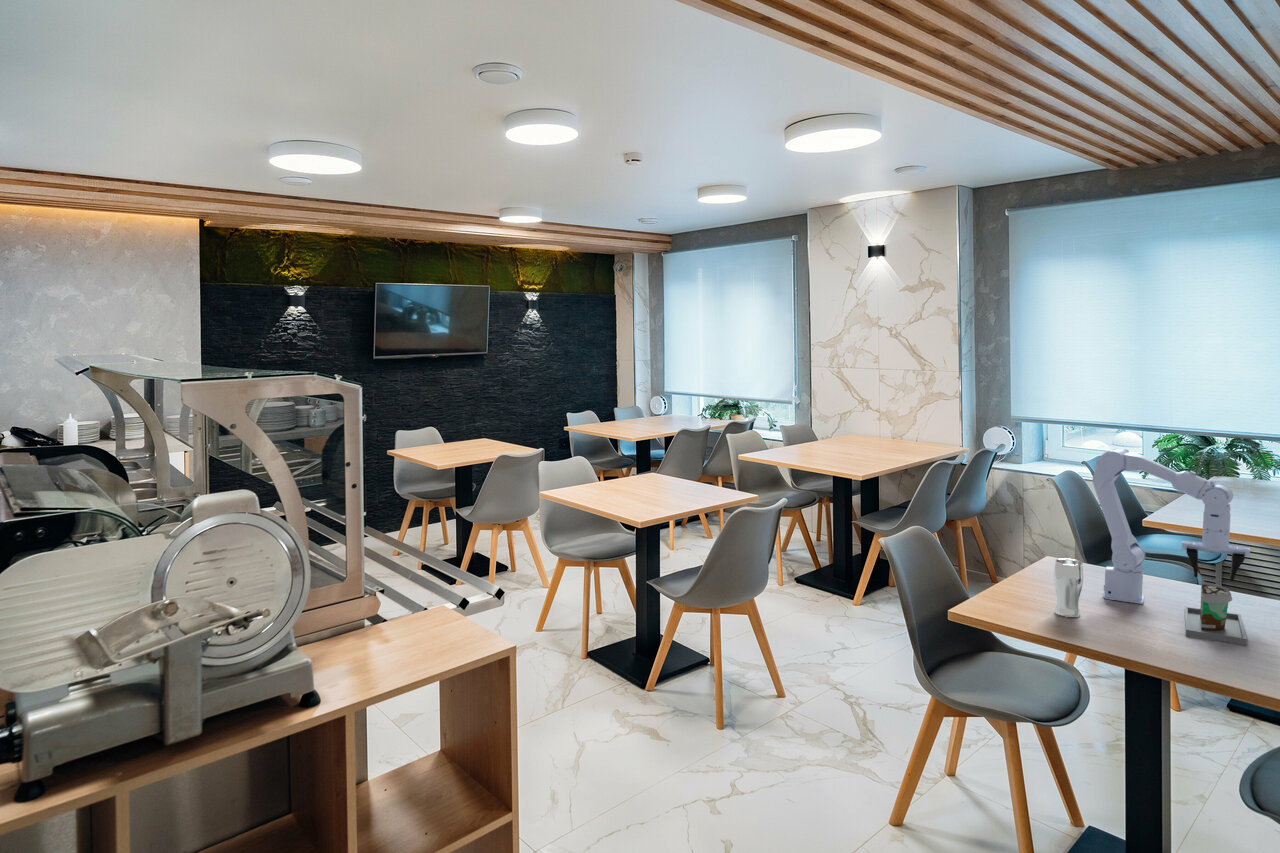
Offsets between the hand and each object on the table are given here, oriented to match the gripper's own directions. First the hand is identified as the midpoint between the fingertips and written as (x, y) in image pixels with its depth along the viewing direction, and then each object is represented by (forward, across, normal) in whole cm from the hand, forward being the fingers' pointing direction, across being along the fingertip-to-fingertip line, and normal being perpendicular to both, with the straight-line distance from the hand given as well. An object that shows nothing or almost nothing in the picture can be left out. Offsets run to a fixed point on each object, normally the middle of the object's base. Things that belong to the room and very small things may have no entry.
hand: (1213, 578), depth 199 cm
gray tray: (+10, 0, -11) cm, 15 cm away
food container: (+10, 0, -11) cm, 15 cm away
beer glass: (+11, -32, -19) cm, 39 cm away
